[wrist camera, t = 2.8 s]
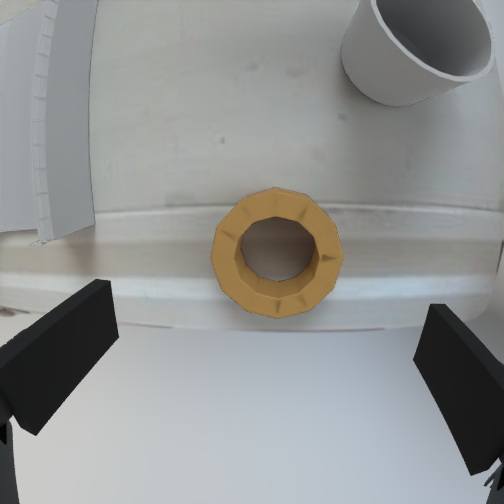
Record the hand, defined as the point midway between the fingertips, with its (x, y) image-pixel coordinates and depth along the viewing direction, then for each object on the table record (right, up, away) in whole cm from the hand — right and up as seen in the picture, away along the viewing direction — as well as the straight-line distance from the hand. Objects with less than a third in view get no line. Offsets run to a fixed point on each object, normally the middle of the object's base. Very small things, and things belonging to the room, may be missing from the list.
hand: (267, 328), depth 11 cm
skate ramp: (-25, +17, +10) cm, 32 cm away
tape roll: (+1, +3, +11) cm, 11 cm away
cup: (+10, +17, +6) cm, 21 cm away
